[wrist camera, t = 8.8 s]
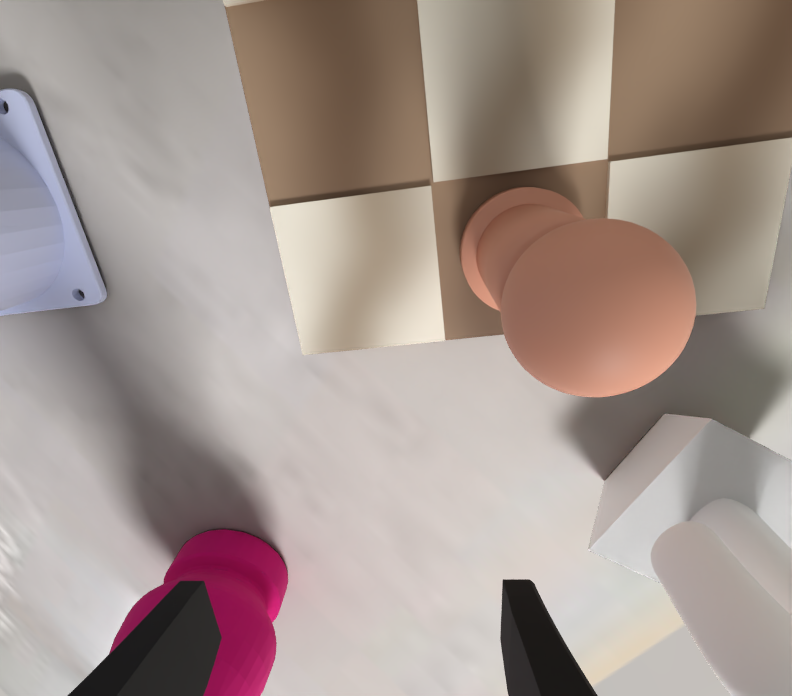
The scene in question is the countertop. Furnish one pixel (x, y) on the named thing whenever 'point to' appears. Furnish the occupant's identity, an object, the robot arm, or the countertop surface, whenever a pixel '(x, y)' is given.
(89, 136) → the countertop surface
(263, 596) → the pepper mill
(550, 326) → the pawn
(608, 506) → the figurine
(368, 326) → the board
